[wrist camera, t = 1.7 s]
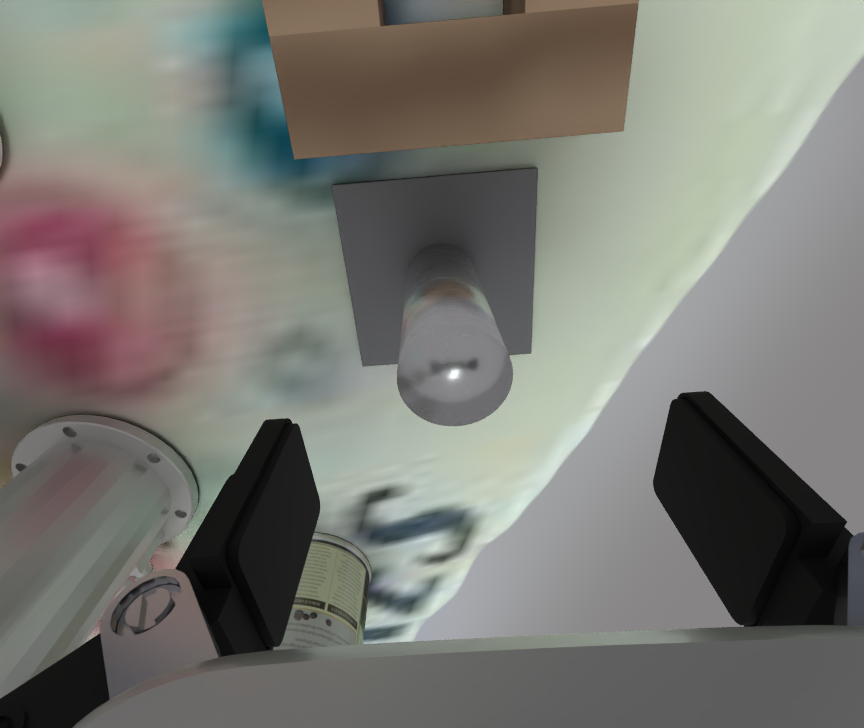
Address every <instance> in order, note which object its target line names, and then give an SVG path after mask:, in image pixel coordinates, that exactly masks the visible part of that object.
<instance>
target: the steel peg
mask: <svg viewBox="0 0 864 728" xmlns="http://www.w3.org/2000/svg"><path fill="white" fill-rule="evenodd" d="M512 379H513V369H512V363H511V360H510V357H509V355H508V352H507V350H506V347H505V345H504V342H503V340H502V337H501V335H500V332H499V330H498V327H497V324H496V322H495V319H494V317H493V314H492V312H491V309H490V307H489V304H488V302H487V299H486V297H485V294H484V292H483V289H482V287H481V284H480V282H479V279H478V277H477V274H476V272H475V269H474V267H473V264H472V262H471V260H470V258H469V257H468V256H467V254H466V253H465V252H464V251H462V250H461V249H459V248H458V247H456V246H453V245H450V244H444V243H441V244H433V245H430V246H427V247H425V248H424V249H422V250H421V251H419V252H418V253H417V254H416V255H415V257H414V258H413V259H412V261H411V263H410V265H409V268H408V274H407V283H406V293H405V303H404V312H403V322H402V332H401V341H400V351H399V361H398V370H397V385H398V389H399V392H400V395H401V397H402V399H403V401H404V402H405V404H406V405H407V406H408V407H409V408H410V409H411V410H412V411H413V412H414V413H415V414H416V415H418V416H419V417H421V418H422V419H424V420H427V421H429V422H431V423H435V424H438V425H443V426H461V425H467V424H471V423H474V422H477V421H479V420H482V419H484V418H485V417H487V416H489V415H490V414H492V413H493V412H494V411H495V410H496V409H497V408H498V407H499V406H500V405H501V404H502V403H503V401H504V400H505V399H506V397H507V395H508V393H509V391H510V388H511V384H512Z"/></svg>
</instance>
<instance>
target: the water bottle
mask: <svg viewBox="0 0 864 728" xmlns="http://www.w3.org/2000/svg"><path fill="white" fill-rule="evenodd" d="M1 163H2V141H1V136H0V167H1Z"/></svg>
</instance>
